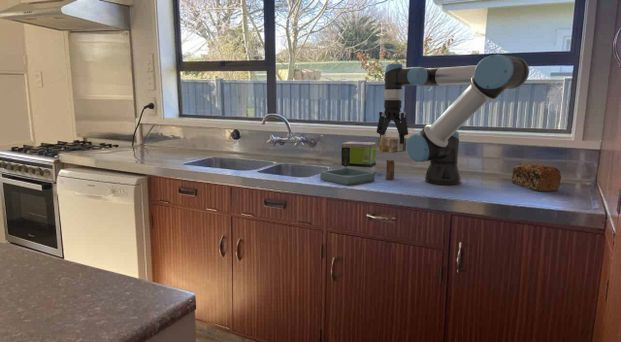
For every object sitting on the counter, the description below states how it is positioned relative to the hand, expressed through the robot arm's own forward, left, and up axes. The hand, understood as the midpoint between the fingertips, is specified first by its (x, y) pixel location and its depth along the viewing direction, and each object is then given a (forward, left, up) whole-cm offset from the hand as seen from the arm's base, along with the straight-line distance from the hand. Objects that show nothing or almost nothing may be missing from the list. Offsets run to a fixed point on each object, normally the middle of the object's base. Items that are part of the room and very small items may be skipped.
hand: (391, 149), depth 204 cm
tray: (+10, +17, -13) cm, 24 cm away
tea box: (+21, -1, -14) cm, 25 cm away
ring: (0, +1, 0) cm, 1 cm away
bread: (-49, -34, -14) cm, 61 cm away
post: (0, 0, -13) cm, 13 cm away
